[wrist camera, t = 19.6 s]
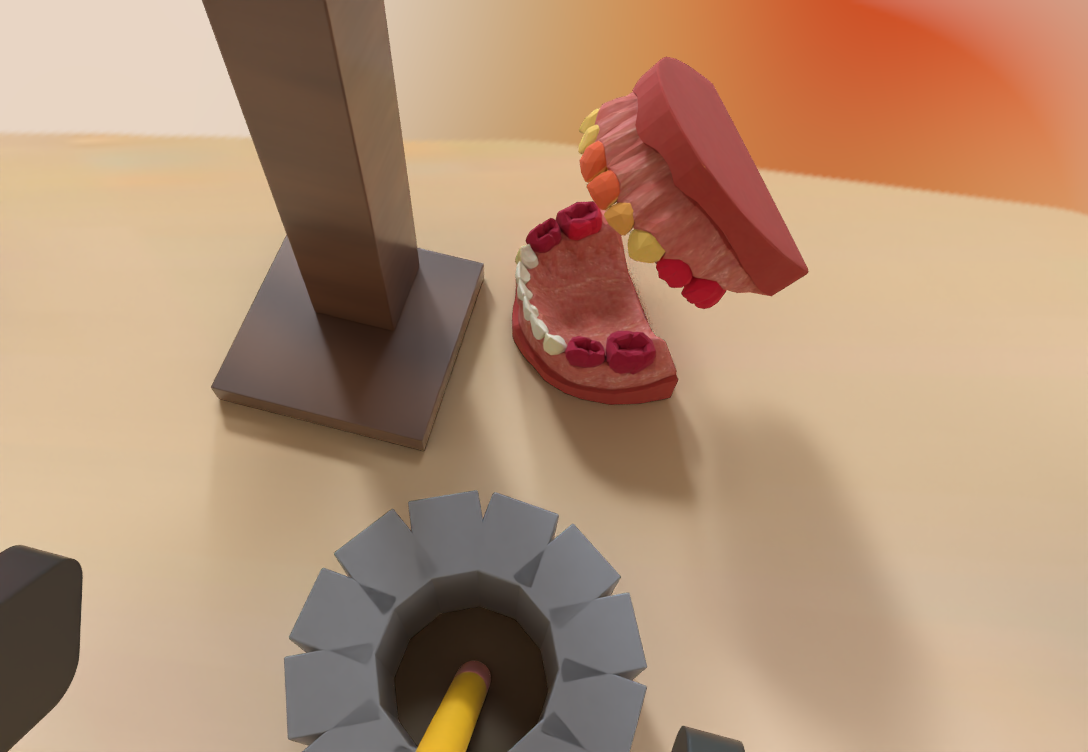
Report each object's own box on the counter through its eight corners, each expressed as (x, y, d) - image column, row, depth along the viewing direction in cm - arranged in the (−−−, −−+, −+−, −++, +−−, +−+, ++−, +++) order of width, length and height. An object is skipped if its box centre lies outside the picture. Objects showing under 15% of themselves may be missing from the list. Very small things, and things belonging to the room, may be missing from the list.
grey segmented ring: (584, 517, 36) (600, 469, 31) (651, 818, 31) (684, 821, 26) (309, 565, 35) (277, 522, 30) (331, 891, 30) (295, 910, 24)
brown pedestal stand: (306, 217, 43) (-48, -897, 15) (489, 261, 43) (483, -816, 14) (208, 417, 38) (-652, -750, 9) (417, 471, 37) (173, -607, 9)
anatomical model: (453, 254, 42) (591, 4, 30) (582, 257, 46) (746, 37, 34) (514, 439, 37) (701, 227, 26) (650, 423, 42) (862, 235, 30)
